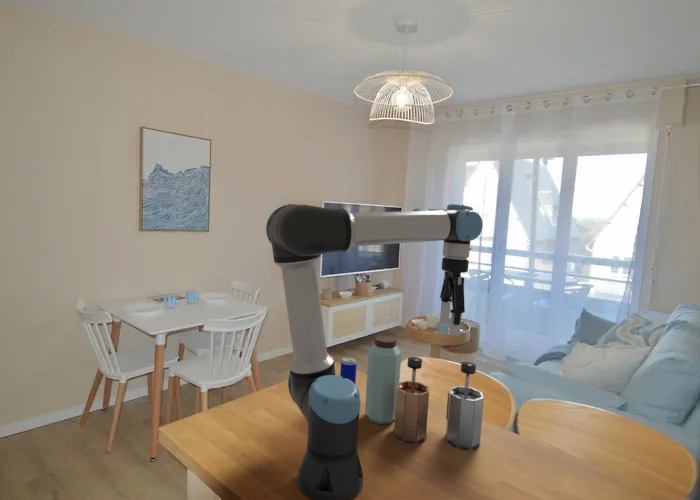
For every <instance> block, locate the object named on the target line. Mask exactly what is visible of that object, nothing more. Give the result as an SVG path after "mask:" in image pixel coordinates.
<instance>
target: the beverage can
mask: <svg viewBox="0 0 700 500" xmlns="http://www.w3.org/2000/svg"><path fill="white" fill-rule="evenodd" d="M357 365H358V364H357V360H356V358H355V357H352V356H344V357H342V358H341V360H340V370H339V371H340V372H339V373H340V375H339V376H341V377H343V379H345V378H347V379H349V380H351V381H352V382H353V383H354V384H355V385H356V380H357V378H356V377H357Z"/></svg>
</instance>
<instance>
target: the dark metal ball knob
mask: <svg viewBox="0 0 700 500" xmlns="http://www.w3.org/2000/svg"><path fill="white" fill-rule="evenodd" d="M476 370H477V364H476V363H474V362H469V361H462V362H461V363H460V371H461V373H463V374H465V380H464V381H465V382H464V387H465V392H464V394H456V396H458V397H460V398H464V399H472V400H475V399H477V398H475V397H474V396H471V395H468V389H469V387H470V377H471V376H470V375H474V374H476Z"/></svg>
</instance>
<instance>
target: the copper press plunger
mask: <svg viewBox="0 0 700 500" xmlns="http://www.w3.org/2000/svg"><path fill="white" fill-rule="evenodd" d="M407 367H408V368H410V369H412V370H411V373H412V374H411V381H412V384H411V388H408V389H403V391H405V392H407V393H414V394H421V393H423V392H422V391H420V390H417V389H415V382H416V377H417V374H416V373H417V370H420V369H422V367H423V359H422V358H420V357H417V356H409V357H408V358H407Z"/></svg>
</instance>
